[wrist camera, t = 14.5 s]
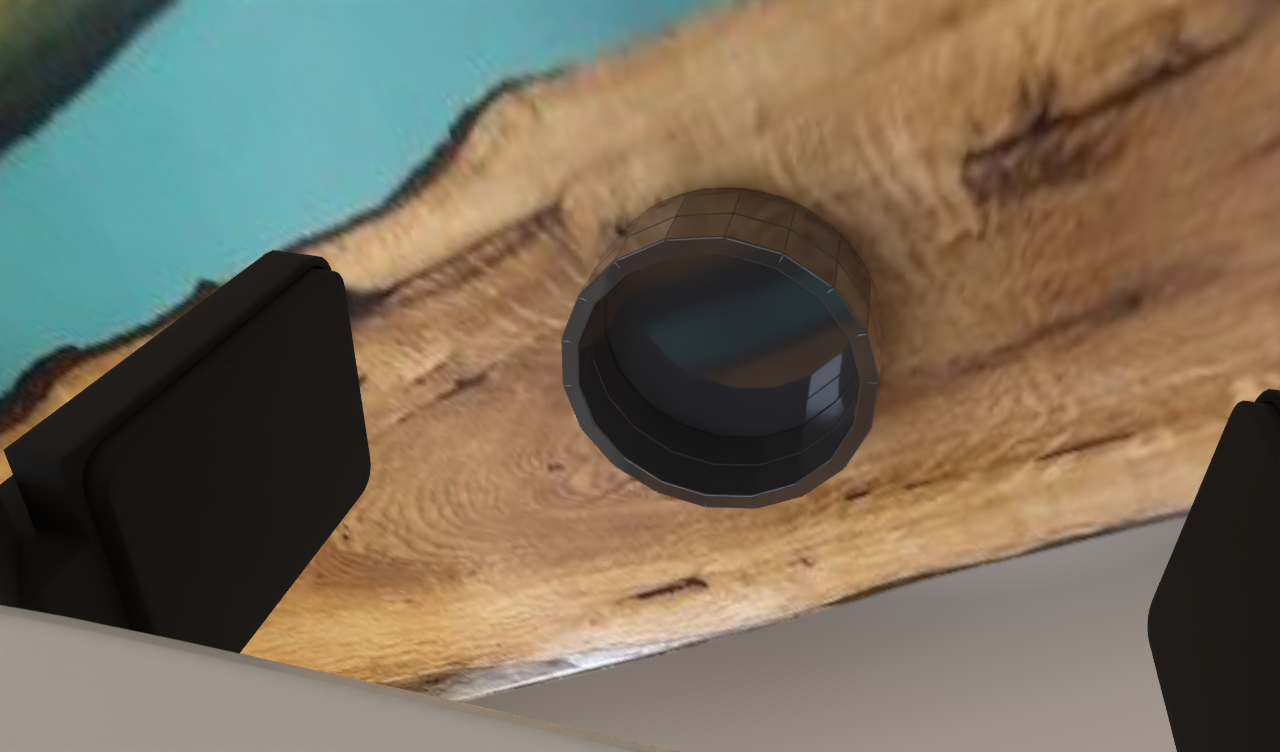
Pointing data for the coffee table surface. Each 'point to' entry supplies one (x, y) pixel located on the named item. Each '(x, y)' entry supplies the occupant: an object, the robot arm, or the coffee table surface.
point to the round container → (726, 350)
